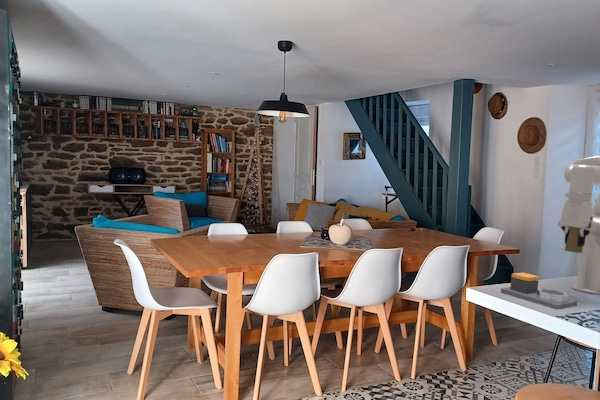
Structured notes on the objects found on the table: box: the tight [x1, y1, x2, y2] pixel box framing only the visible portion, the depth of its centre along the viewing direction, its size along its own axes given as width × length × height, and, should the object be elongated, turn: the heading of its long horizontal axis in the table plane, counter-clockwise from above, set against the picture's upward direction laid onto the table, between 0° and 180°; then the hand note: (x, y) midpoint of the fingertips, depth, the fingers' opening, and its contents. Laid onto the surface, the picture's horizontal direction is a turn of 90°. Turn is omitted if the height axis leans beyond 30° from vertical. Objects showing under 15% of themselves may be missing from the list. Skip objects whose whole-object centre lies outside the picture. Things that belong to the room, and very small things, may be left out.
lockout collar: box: [537, 288, 569, 303], centre depth 185 cm, size 10×10×2 cm
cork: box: [564, 227, 582, 254], centre depth 189 cm, size 6×6×11 cm
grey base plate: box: [500, 277, 578, 310], centre depth 190 cm, size 13×23×6 cm, turn 33°
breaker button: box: [511, 271, 540, 281], centre depth 195 cm, size 7×7×4 cm
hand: (574, 245), depth 189 cm, fingers closed on cork, 4 cm apart
